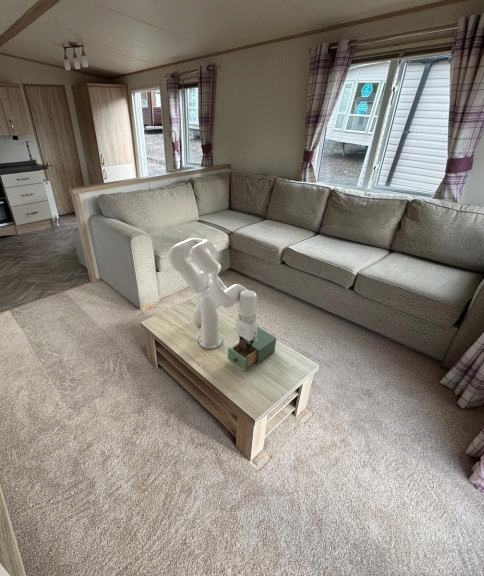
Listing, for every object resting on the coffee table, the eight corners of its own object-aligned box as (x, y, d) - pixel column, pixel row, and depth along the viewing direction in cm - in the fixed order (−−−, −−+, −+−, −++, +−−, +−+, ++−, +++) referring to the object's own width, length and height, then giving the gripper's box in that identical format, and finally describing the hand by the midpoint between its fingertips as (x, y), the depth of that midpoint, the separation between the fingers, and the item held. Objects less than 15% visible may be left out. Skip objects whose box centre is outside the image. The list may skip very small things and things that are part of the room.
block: (239, 345, 147) (239, 339, 145) (245, 342, 150) (245, 336, 148) (245, 350, 145) (246, 343, 143) (251, 346, 147) (251, 339, 145)
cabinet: (257, 364, 150) (259, 350, 145) (239, 350, 159) (239, 337, 154) (274, 351, 157) (276, 338, 153) (256, 339, 166) (257, 326, 161)
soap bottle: (209, 311, 189) (209, 270, 174) (222, 319, 182) (223, 277, 166) (189, 322, 181) (186, 280, 165) (201, 331, 173) (200, 288, 157)
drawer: (242, 372, 145) (243, 361, 141) (226, 359, 152) (226, 349, 148) (261, 358, 152) (262, 348, 148) (244, 347, 160) (245, 336, 156)
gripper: (228, 311, 141) (227, 341, 151) (255, 327, 130) (253, 358, 139) (239, 305, 145) (238, 334, 155) (266, 320, 134) (263, 351, 143)
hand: (245, 345), depth 147 cm, fingers closed on block, 4 cm apart
